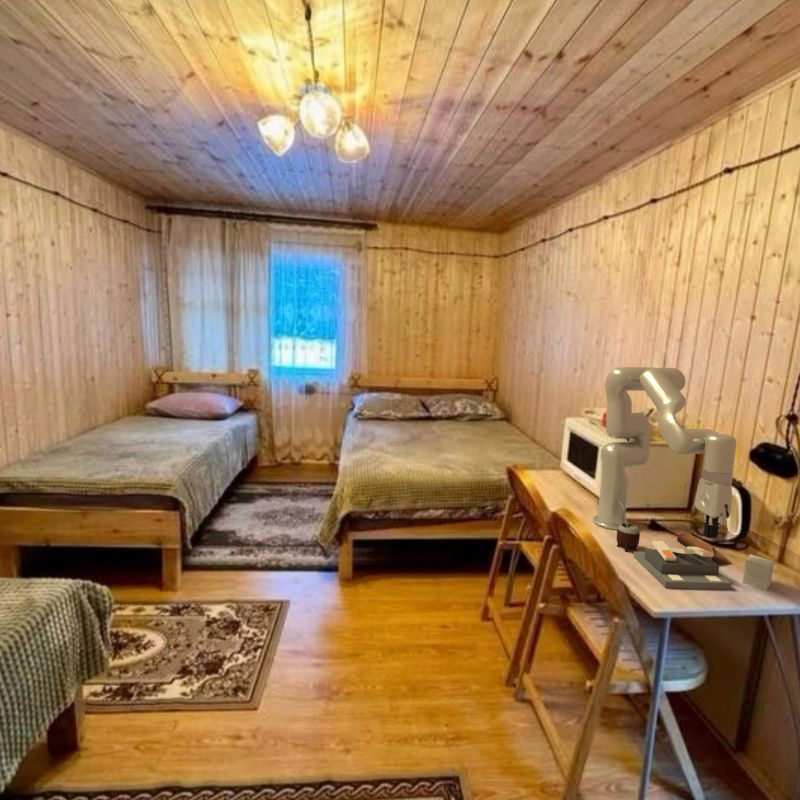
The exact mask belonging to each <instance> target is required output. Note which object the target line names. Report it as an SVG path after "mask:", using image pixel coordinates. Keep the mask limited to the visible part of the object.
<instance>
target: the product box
mask: <svg viewBox="0 0 800 800" xmlns="http://www.w3.org/2000/svg"><path fill="white" fill-rule="evenodd" d="M744 562H745V563H744V569H743V576H742V584H745V585H748V586H751V587H754V588H757V589H760V590H764V591H766V592H767V591H768V590H769V587H770V585H771V584H772V580H773V579H772V578H773V572H774V565H775V561H774V560H771V559H768V558H765V557H761V556H757V555H754V554H749V555H748V556H747V558H746V559H745V561H744Z"/></svg>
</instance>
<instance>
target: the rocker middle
mask: <svg viewBox="0 0 800 800" xmlns="http://www.w3.org/2000/svg"><path fill="white" fill-rule="evenodd" d="M668 548H669V549H670V550H671V552H676V553H678V556H687V555H686V554H695V550H690V549H687V548H677V547H675V548H674V547H673V548H672V547H668Z"/></svg>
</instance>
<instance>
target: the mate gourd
mask: <svg viewBox="0 0 800 800" xmlns="http://www.w3.org/2000/svg"><path fill="white" fill-rule="evenodd" d="M619 503H620V504H621V506H622V508H623V512H624V517H625V522H626V523H622V524H621V525H620V526H619V527H618V530H616V542H617V544H616V547H617V548H621V549H624V552H626V553H628V550H630V551H633V552H638V546H639V544H640V543H639V542H640V537H641V532H640V531H641V530H640V529H639V527H638V526H637V525H635V524H632V523H630V522H628V523H627V521H628V517H627V514H626V512H627V509H626V510H625V508H624V506H623V505H622V503H621V502H620V501H619Z"/></svg>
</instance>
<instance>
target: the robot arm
mask: <svg viewBox="0 0 800 800" xmlns="http://www.w3.org/2000/svg"><path fill="white" fill-rule="evenodd" d="M685 386H686V377H685V375H684V373H683V372H682V371H681V370H680V369H678V368H675V367H651V366H650V367H649V366H646V367H645V366H643V367H641V366H639V367H638V366H636V367H635V366H623V367H616V368H613V369H612V370H610V372H608V374H607V376H606V378H605V382H604V389H605V396H606V417H605V418H606V419H605V420H606V422H605V429H606V430H605V431H606V434H607V436H608V437H609V438H613V439H616V440H618V439H623V440H624V439H625V440H626V439H629V441H618V442H617V441H615V442H613V441H612V442H608V443H606V444H605V445H603V446H602V448H601V450H600V461H601V475H600V476H601V477H600V478H601V479H600V486H599V487H600V490H599V499H598V500H599V501H598V507H597V511H598V512H597V514H596V515H594V516H592V520H593V521H592V522H593V523H594V524H595V525H598V526H600V527H601V528H605V529H610V530H616V531H617V530H618V527H619V526H620V525H621V524H622V523H626V522H625V517H624V512H623V508H622V506H621V504H620V503H619V501H620V502H621V503H622V505H623V506H624V508H625V510H626V511H627V503H628V493H629V483H630V482H629V481H630V480H629V476H628V474H627V472H626V469H628V468H639V467H643V466H645V465H646V464H647V463H648V462H649V459H650V453H651V430H652V429H651V423H650V420H649V419H648V417H647V416H646V415H645V414H643V413H640V412H632V411H633V409H632V406H633V403H632V398H631V397H630V395H629V393H628V391H629V392H630V391H634V392H635V391H637V392H638V391H641V392H642V391H643V392H645V393H646V395H648V397H649V399H650V400H651V402H652V403H653V405H654V406H655V407H656V409H657V410H658V412H659V414H658V419H657V422H658V431H659V433H660V435H661V436H662V438H663V440H664V442H666V444H667V445H668V447H669V448H670V449H671V450H672V451H674V452H675V453H677V454H680V455H695V454H698V455H701V454H702V455H703V458H702V459H703V460H702V467H701V468H702V469H701V470H702V471H701V477H700V478H699V480H698V484H697V489H696V494H695V501H694V508H696V509H697V510H698V511H699V512H700V513H701V514H702V516H703V522H704V526H703V532H702V533H703V535H702V536H704V537H706V538H708V539H709V538H710V539H717V538H718V535H719V526H721V524H727V519H729V518H730V517H731V514H732V504H733V490H732V489H733V488H732V484H733V478H734V477H733V475H734V468H735V458H736V448H737V439H736V438H735V436H732V435H730V434H725V433H719V432H716V431H715V430H712V429H709V428H683V427H682V425H681V424H680V423H679V421H678V420H677V418H676V416H675V415H676V414H678V413H680V412H681V411H682V410H683V409H684V408H685V406H686V404H687V400H686V397H685V396H684V395H683V394H682V392H681V391H682V390H683V389H684V388H685ZM627 523H629V522H628V520H627Z"/></svg>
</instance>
